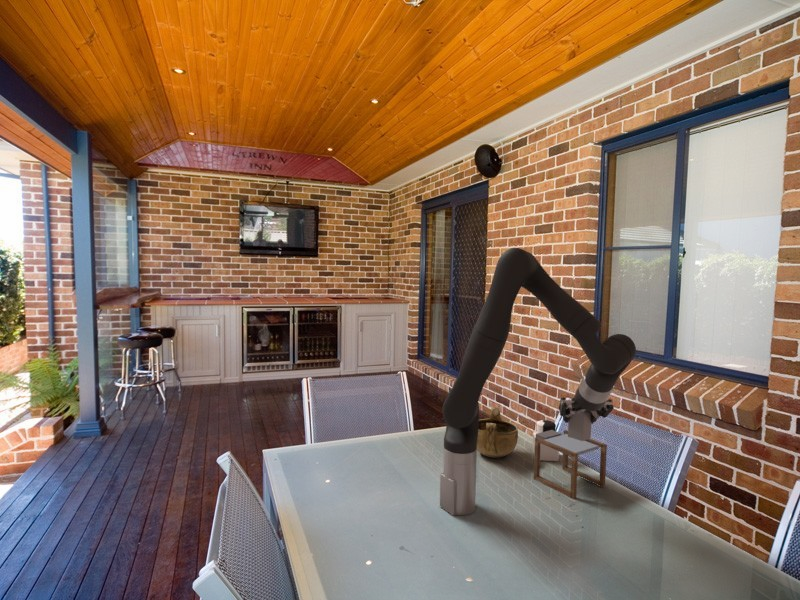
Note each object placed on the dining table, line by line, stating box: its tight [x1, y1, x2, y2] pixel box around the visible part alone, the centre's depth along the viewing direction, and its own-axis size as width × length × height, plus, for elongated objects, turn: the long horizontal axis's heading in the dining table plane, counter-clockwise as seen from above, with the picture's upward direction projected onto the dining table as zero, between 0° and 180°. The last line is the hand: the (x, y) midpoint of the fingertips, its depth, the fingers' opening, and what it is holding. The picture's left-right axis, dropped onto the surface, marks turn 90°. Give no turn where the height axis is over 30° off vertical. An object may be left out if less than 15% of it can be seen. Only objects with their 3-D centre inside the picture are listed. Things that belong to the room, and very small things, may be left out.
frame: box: [533, 429, 608, 500], centre depth 144 cm, size 15×15×14 cm
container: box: [532, 419, 560, 462], centre depth 164 cm, size 8×8×13 cm
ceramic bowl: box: [477, 406, 519, 459], centre depth 166 cm, size 22×17×15 cm
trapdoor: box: [536, 430, 600, 456], centre depth 145 cm, size 12×16×2 cm
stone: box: [567, 410, 592, 441], centre depth 129 cm, size 4×4×10 cm
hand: (577, 420), depth 131 cm, fingers closed on stone, 6 cm apart
